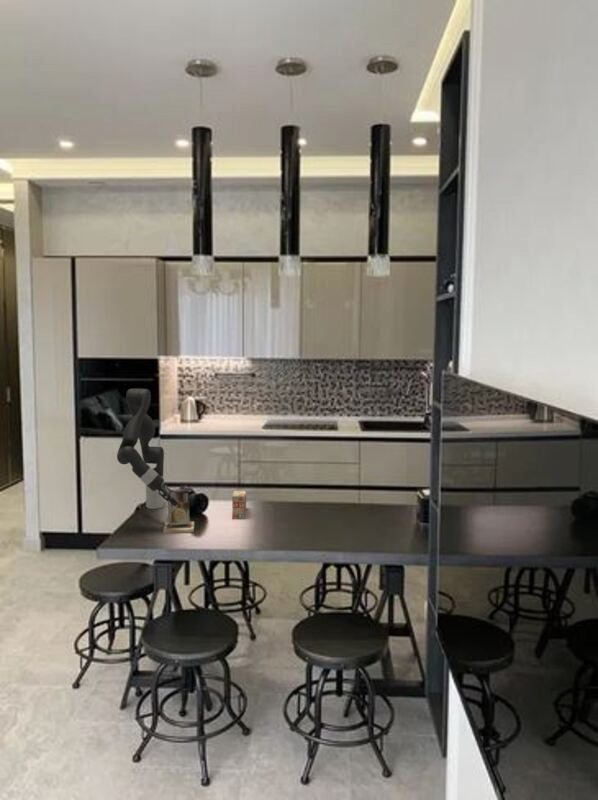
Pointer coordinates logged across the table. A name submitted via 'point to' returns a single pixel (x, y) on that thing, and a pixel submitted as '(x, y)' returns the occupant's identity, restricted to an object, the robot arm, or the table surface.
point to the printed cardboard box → (238, 504)
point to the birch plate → (178, 528)
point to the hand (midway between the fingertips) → (176, 502)
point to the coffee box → (179, 507)
